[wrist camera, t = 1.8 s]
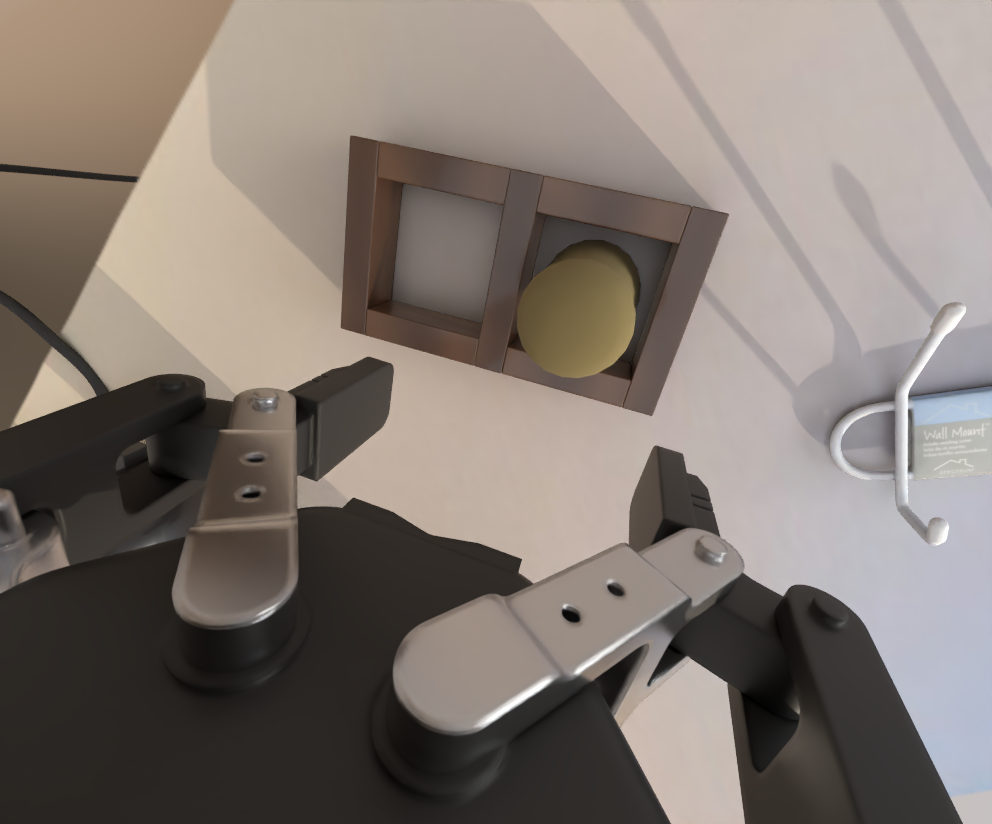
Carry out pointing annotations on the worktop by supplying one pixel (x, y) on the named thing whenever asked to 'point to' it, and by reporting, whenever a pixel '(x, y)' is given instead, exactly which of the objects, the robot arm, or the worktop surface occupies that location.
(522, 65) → the worktop surface
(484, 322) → the stand
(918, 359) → the wall mount rack
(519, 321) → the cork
